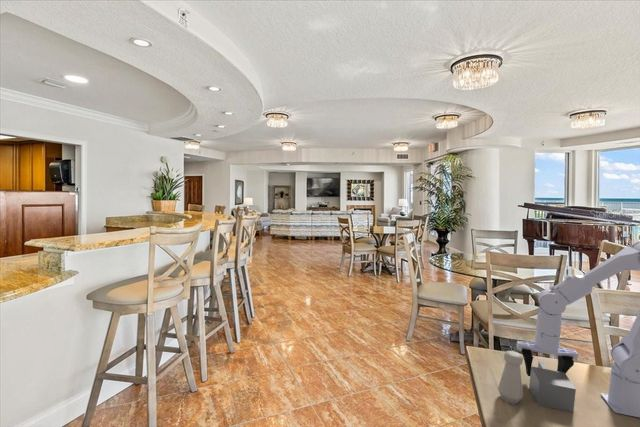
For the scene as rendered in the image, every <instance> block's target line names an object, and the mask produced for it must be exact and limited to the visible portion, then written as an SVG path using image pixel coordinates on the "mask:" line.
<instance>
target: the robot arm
mask: <svg viewBox="0 0 640 427" xmlns="http://www.w3.org/2000/svg"><path fill="white" fill-rule="evenodd" d="M623 271H638V272H640V240H639V241H636V242H635V243H633V244H631V246H626V247H624V248H622V249H621V250H619V251H618V252H617V253H615V254H614V255H612V256H610V257H609V258H607V259H606V260H604V261H602V262H601V263H600V264H598V265H597V266H595V267H594V268H592V269H590V270H589V271H588V272H586V273H584V274H572V275H570V274H567V275H566V276H565V277H564V278H565V279H563V280H562V281H561V282H559V283H556V284H555V285H550V286H549V288H548V289H544V290H541V291H540V292H539V293H538V295H537V301H538V304H539V306H538V309H537V310H538V313H537V317H536V326H535V337H534V338H535V339H534V341H520V340H517V341H516V349H517V351H520V353H521V356H522V357H523V362H524V364H525V365H524V366H525V373H526V376H528V377H530V374H531V366H532V367H533V365H532V364H533V360H534V356H533V353H532V352H534V353H538V354H539V353H541V354H546V355H551V356H555V357H557V369H556V371H559V372H564V373H565V374H566V375H567V372H569V370H570V369H571V368H572V367H574V364H575V361H577V360H578V358H579V357H578V356H579V353H578V352H577V351H576V349H570V348H566V347H563V346H560V340H561V333H562V332H561V331H562V323H563V322H562V321H563V319H562V314H563V313H564V312H565V310H566V307H567V306H568V305H569V306H570V305H572V304H573V303H575V302H576V301H579V300H581V299H583V298H584V297H586V296H588V295H589V294H591V293H592V291H593V287H594V286H595V285H597V284H600V283H602V282H603V281H605V280H607V279H610V278H611V277H613V276H616V275H617V274H619V273H622V272H623ZM610 356H611V359H612V360H613V361H614V364H613V365H612V366H611V369H610V377H609V378H610V379H609V387H608V393H604V392H601V393H600V396H601V397H602V399H604V400H605V402H606V403H607V405H608V406H609V407H610V409H611V410H612V411H613V412H614V413H615V414H621V415H625V416H629V417H630V416H631V417H636V418H640V310H639V311H638V313H637V316H636V318H635V319H634V322H633V323H632V326H631V328H630V329H629V332H628V334H627V335H625V336H623V337H621V339H620V341H619V342H618V343H617V344H615V345H613V347H612V348H611V349H610ZM574 360H575V361H574Z"/></svg>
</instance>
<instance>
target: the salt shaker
mask: <svg viewBox="0 0 640 427" xmlns="http://www.w3.org/2000/svg"><path fill="white" fill-rule="evenodd" d="M503 360H504V361H505V364H504V368H503V370H502V371H503V372H502V375H501V377H500V381H499V383H498V387H497V389H498V392H499V394H500V398H501V400H503V401H504V402H506V403H507V404H510V405H517V404H518V403H519V402H520V401H521V400H522V399H523V397H524V396H523V394H524V390H523V381H522V373H521V365H522V364H523V362H524V358H523V355H522V354H521V353H519V352H517V351H513V350H507V351H505V352H504V355H503Z"/></svg>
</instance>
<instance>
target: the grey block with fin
mask: <svg viewBox="0 0 640 427" xmlns="http://www.w3.org/2000/svg"><path fill="white" fill-rule="evenodd" d="M537 364H538V366H537V367H536V366H533V365H532V366H531V374H530V376H529V385H528V388H529V390H530V393H531V394H532V397H533V398H534V401H535V403H536V405H538V406H543V407H547V408H552V409H556V410H560V411H561V410H562V411H565V412H570V413H574V409H575V401H576V400H575V399H576V390H577V389H576V387H575V386H574V384H573V382H572V381H571V380H570V378H569V377H568V375H567V373H566V374H565V373H564V372H559V371H557V370H553V369H548V368H547V365H546V364H545V362H543V361H539V360H538V363H537Z"/></svg>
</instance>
